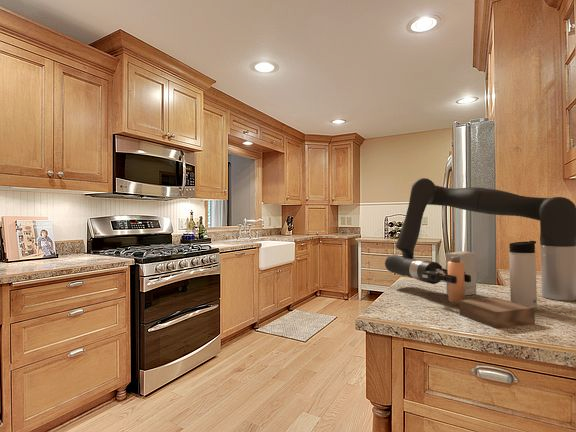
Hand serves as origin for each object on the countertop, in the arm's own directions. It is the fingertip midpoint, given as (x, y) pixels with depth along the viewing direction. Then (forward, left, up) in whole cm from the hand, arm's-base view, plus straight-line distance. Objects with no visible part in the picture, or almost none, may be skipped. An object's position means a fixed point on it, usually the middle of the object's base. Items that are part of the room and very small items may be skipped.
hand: (462, 279), depth 98 cm
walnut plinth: (0, +11, -9) cm, 14 cm away
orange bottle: (0, -3, -7) cm, 7 cm away
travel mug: (-16, +6, -9) cm, 19 cm away
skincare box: (-13, -15, -9) cm, 22 cm away
